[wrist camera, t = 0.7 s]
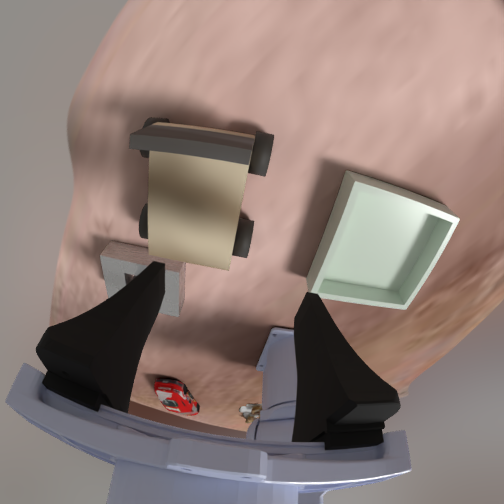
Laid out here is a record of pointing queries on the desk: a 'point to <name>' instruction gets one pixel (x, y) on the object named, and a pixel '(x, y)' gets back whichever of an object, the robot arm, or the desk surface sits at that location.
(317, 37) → the desk surface
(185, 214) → the ramp trolley
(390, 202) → the tray
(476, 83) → the desk surface
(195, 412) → the race car
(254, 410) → the frog figurine
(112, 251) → the plate
